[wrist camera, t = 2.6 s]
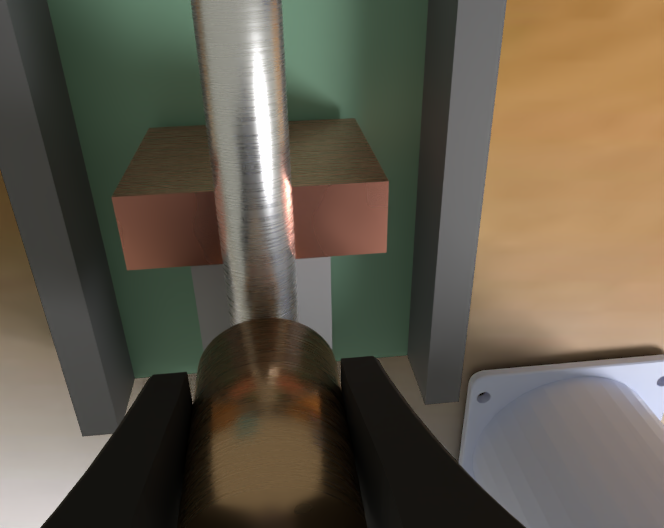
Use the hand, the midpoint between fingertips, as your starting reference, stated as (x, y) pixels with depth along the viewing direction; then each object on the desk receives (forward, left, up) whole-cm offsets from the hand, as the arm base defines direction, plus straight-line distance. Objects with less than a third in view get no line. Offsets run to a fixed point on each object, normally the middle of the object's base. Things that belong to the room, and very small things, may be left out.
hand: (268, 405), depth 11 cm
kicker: (+5, 0, -6) cm, 8 cm away
